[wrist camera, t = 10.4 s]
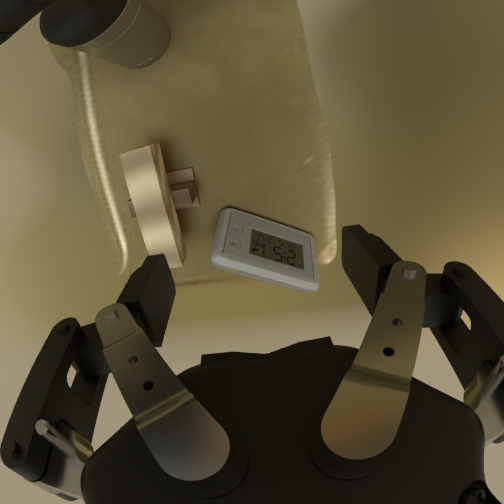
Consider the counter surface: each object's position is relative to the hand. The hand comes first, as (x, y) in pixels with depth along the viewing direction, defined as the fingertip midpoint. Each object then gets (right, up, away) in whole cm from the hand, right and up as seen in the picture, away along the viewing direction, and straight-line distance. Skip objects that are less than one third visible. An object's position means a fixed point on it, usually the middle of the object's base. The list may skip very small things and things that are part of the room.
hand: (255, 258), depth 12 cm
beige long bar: (-13, +7, +23) cm, 27 cm away
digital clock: (+2, +3, +33) cm, 33 cm away
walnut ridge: (-13, +10, +28) cm, 33 cm away
